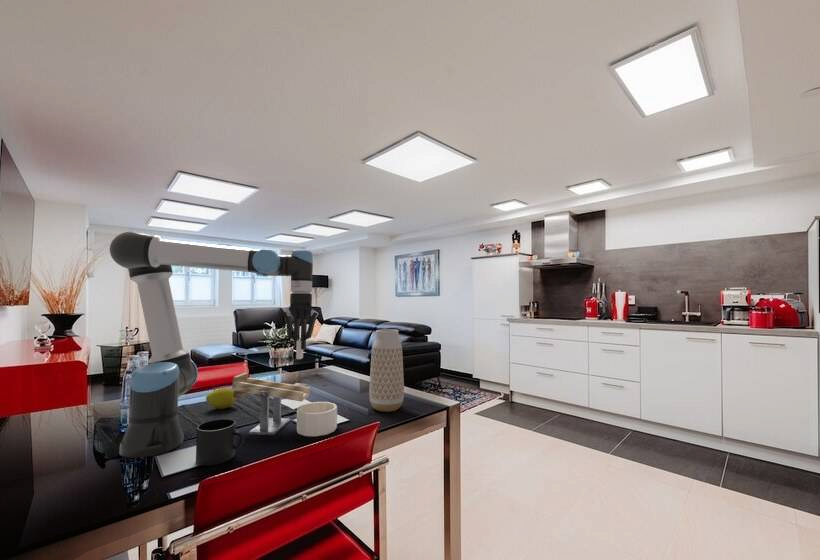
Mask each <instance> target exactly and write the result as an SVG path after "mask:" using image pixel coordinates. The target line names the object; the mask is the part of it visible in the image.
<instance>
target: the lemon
mask: <svg viewBox="0 0 820 560" xmlns="http://www.w3.org/2000/svg"><path fill="white" fill-rule="evenodd" d="M233 394H234V390H232V388H230V387H220V388H216V389H214V390H213V391H212V392H210V393H208V394H206V396H205V400H206V403H207V404H209V405H210V406H211V407H212V408H214V409H216V410H223V409H224V410H225V409H228V408H230V407H232V406H233V405H234V404H235V402H236V400H237V399H238V398H235V397H233Z"/></svg>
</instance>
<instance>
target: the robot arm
mask: <svg viewBox="0 0 820 560" xmlns="http://www.w3.org/2000/svg"><path fill="white" fill-rule="evenodd" d="M290 253H291V254H290V255H284V254H277V252H276V251H274V250H272V249H267V248H262V249H257V248H255V249H254V248H248V247H238V246H228V245H218V244H209V243H208V244H207V243H199V242H190V241H179V240H171V239H169V240H168V239H163V238H162V236H160V235H157V234H156V235H155V234H146V233H143V232H140V231H125V232H123V233H120V234H118V235H116V236H115V237H114V238H113V239H112V240H111V242H110V245H109V255H110V256H111V258H112V260H113V261H114V262H115V263H116V264H118V265H119V266H120V267H123V268H125V269H128V276H129V279H130V280H131V281H132V282H134V283H136V284H137V289H138V290H137V291H138V293H139V294H138V295H139V298H140V303H141V309H142V313H143V318H144V322H145V323H144V324H145V328H146V331H147V338H148V342H149V346H150V352H151V357H150V358H149V359H148V361H147V364H144V365H141V366H139V367H137V368H135V369H133V371H132V372H131V373H130V378H129V379H130V380H129V382H128V385H129V386H128V387H129V400H128V401H129V403H128V405H129V406H128V424H127V426H126V429H125V432H124V435H123V437H122V440H121V442H120V444H119V456H121V457H123V458H129V459H138V458H139V459H140V458H146V457H147V458H148V457H154V456H157V455H161V454H164V453H167V452H170V451H172V450H174V449H176V448H178V447H179V446H181V445H182V444H183V443H184V435H185V434H184V431H183V430H182V427H181V426H182V425H181V423H180V421H179V417H178V409H179V408H178V407H179V397H181V396H182V395H185V394H186V393H188V391H190V390H191V389H192V388H193V386H194V385H195V383H196V382H197V379H198V376H199V370H198V367H197V365H196V363H195V362H194V361H192V359H191V355H190V351H188V350H187V349H185V348H184V347H183V342H182V337H181V332H180V327H179V323H178V317H177V314H176V310H175V309H176V308H175V303H174V300H173V294H172V289H171V285H170V278H171V277H172V275H174V272H173V268H172V266H174V267H175V266H176V267H185V268H196V269H209V270H210V269H211V270H219V271H220V270H223V271H234V272H244V273H253V274H254V273H255V275H257V276H263V277H271V276H272V277H290V289H289V290H290V292H291V293H290V295H289V298H290V299H289V304H290V305H289V306H288V309H287V310H285V311H283V312H282V316H283V317H284V320H285V324H286V329H287V335H288V339H292V340H293V349H294V350H295V351H296V352H295V353H296V355H295V359H296V360H302V359H303V358H304V350H306V347H307V340H308V339H311V338H312V336H313V331H314V327H315V325H316V324H315V323H316V320H317V318H318V316H319V315H320V313H319V312H318V311H316V310H314V308H313V306H312V304H313V294H312V292H313V269H314V264H313V260H314V259H313V252H312V251H310V250H308V249H307V250H306V249H293V250H291V252H290ZM291 316H292V317H293V320H292V317H291ZM309 316H310V319H309V323H308V317H309Z"/></svg>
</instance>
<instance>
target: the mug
mask: <svg viewBox="0 0 820 560" xmlns="http://www.w3.org/2000/svg"><path fill="white" fill-rule="evenodd" d="M236 436H238V437H239V438H240V442H239V443H238V444H236V440H237V439H236ZM195 442H196V444H195V445H196V446H195V462H196V464H198V465H199V466H207V467H208V466H216V465H221V464H225V463H226V462H228V461H230V460H232V459H233V458H234V457H235V455H236V449H239V448H241V447H242V446H243V444H244V442H245V437H244V434H243V433H242V432H241V431H238V430H237V422H236V421H235V420H234V419H232V418H217V419H212V420H208V421H205V422H201V423H200V424H198V426H197V427H196V440H195Z"/></svg>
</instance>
